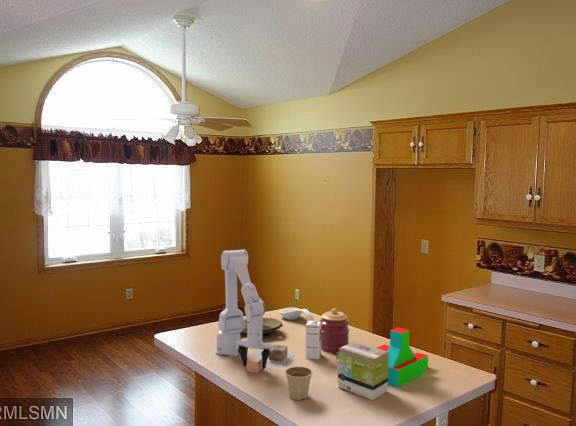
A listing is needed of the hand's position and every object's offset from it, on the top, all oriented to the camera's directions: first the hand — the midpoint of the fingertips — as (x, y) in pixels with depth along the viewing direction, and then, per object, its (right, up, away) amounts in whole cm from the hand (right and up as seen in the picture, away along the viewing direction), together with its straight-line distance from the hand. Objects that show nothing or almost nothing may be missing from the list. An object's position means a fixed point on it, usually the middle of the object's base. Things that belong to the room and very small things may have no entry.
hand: (254, 366), depth 191 cm
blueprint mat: (+6, -1, +12) cm, 13 cm away
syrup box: (+23, -1, +15) cm, 28 cm away
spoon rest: (+18, +3, +66) cm, 69 cm away
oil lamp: (-4, +2, +47) cm, 47 cm away
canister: (+33, 0, +26) cm, 42 cm away
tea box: (+39, -3, -16) cm, 42 cm away
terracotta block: (0, -2, 0) cm, 2 cm away
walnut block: (+9, 0, +12) cm, 15 cm away
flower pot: (+16, -4, -21) cm, 27 cm away
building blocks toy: (+54, -2, +2) cm, 54 cm away
